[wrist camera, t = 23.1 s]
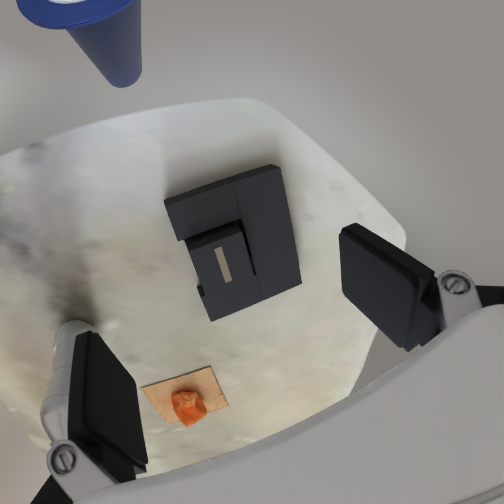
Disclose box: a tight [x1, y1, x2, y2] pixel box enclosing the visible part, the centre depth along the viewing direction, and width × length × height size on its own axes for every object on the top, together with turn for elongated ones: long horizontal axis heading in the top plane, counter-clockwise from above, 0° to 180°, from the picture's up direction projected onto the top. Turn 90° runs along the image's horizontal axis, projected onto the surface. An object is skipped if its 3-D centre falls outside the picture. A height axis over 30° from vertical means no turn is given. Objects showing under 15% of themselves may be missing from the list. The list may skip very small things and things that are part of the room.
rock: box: [141, 367, 228, 427], centre depth 43 cm, size 12×12×4 cm
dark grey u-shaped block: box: [164, 164, 302, 322], centre depth 35 cm, size 16×13×2 cm
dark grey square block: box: [184, 221, 254, 296], centre depth 34 cm, size 6×6×4 cm
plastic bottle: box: [40, 320, 99, 450], centre depth 25 cm, size 6×7×20 cm
